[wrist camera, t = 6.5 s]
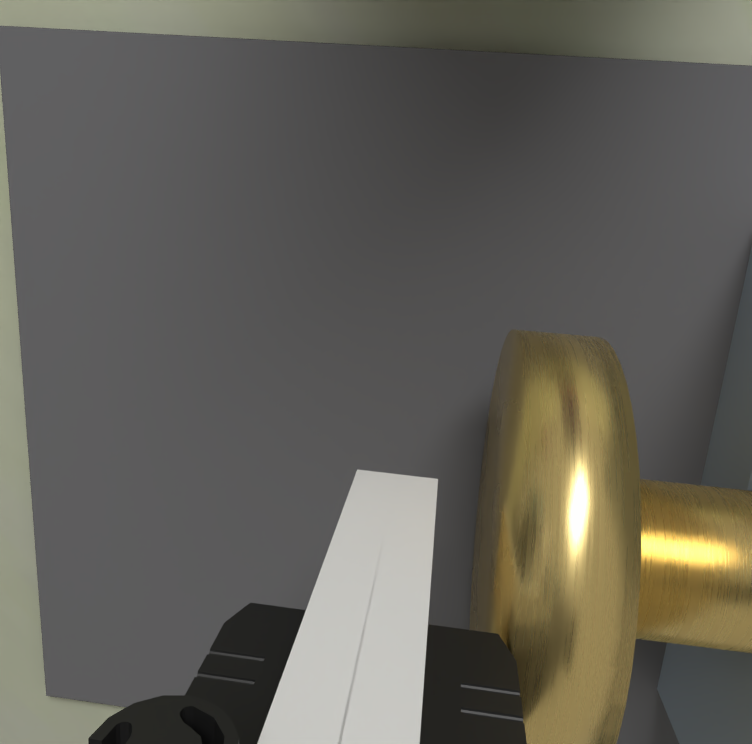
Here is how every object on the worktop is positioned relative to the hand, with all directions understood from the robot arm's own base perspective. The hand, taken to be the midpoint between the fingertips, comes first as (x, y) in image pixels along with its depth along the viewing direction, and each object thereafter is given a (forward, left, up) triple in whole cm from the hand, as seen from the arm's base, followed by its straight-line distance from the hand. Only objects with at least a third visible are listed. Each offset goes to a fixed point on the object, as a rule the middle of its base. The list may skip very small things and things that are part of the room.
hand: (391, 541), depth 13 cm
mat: (+4, 0, -5) cm, 6 cm away
